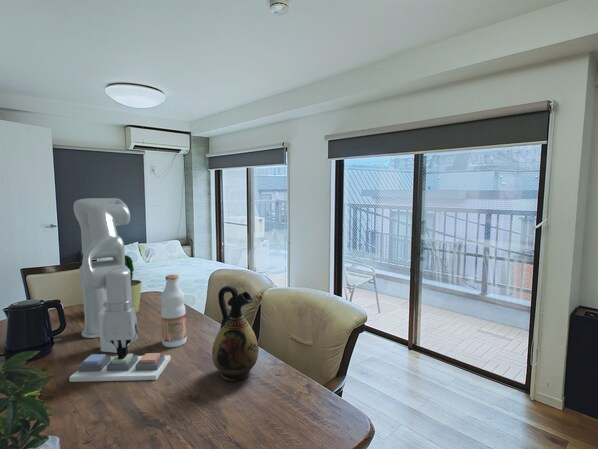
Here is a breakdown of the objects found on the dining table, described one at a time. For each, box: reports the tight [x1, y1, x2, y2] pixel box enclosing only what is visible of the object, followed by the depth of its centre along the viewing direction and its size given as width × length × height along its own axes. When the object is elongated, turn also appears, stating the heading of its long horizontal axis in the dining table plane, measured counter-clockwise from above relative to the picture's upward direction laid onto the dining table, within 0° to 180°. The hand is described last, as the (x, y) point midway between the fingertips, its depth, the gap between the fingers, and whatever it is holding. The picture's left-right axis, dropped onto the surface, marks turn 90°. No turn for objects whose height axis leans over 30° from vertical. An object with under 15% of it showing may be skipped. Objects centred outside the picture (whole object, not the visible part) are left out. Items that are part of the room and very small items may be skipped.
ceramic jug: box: [211, 285, 260, 383], centre depth 116 cm, size 17×15×30 cm
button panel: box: [68, 354, 172, 383], centre depth 120 cm, size 14×28×4 cm, turn 92°
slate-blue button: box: [82, 353, 107, 365], centre depth 120 cm, size 5×5×2 cm
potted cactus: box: [125, 254, 143, 313], centre depth 178 cm, size 15×15×30 cm
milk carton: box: [99, 301, 130, 354], centre depth 136 cm, size 7×7×19 cm
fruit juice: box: [160, 274, 188, 348], centre depth 140 cm, size 9×9×28 cm
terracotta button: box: [140, 352, 161, 364], centre depth 120 cm, size 5×5×2 cm
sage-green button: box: [112, 353, 134, 364], centre depth 120 cm, size 5×5×2 cm
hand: (122, 357), depth 120 cm, fingers closed
